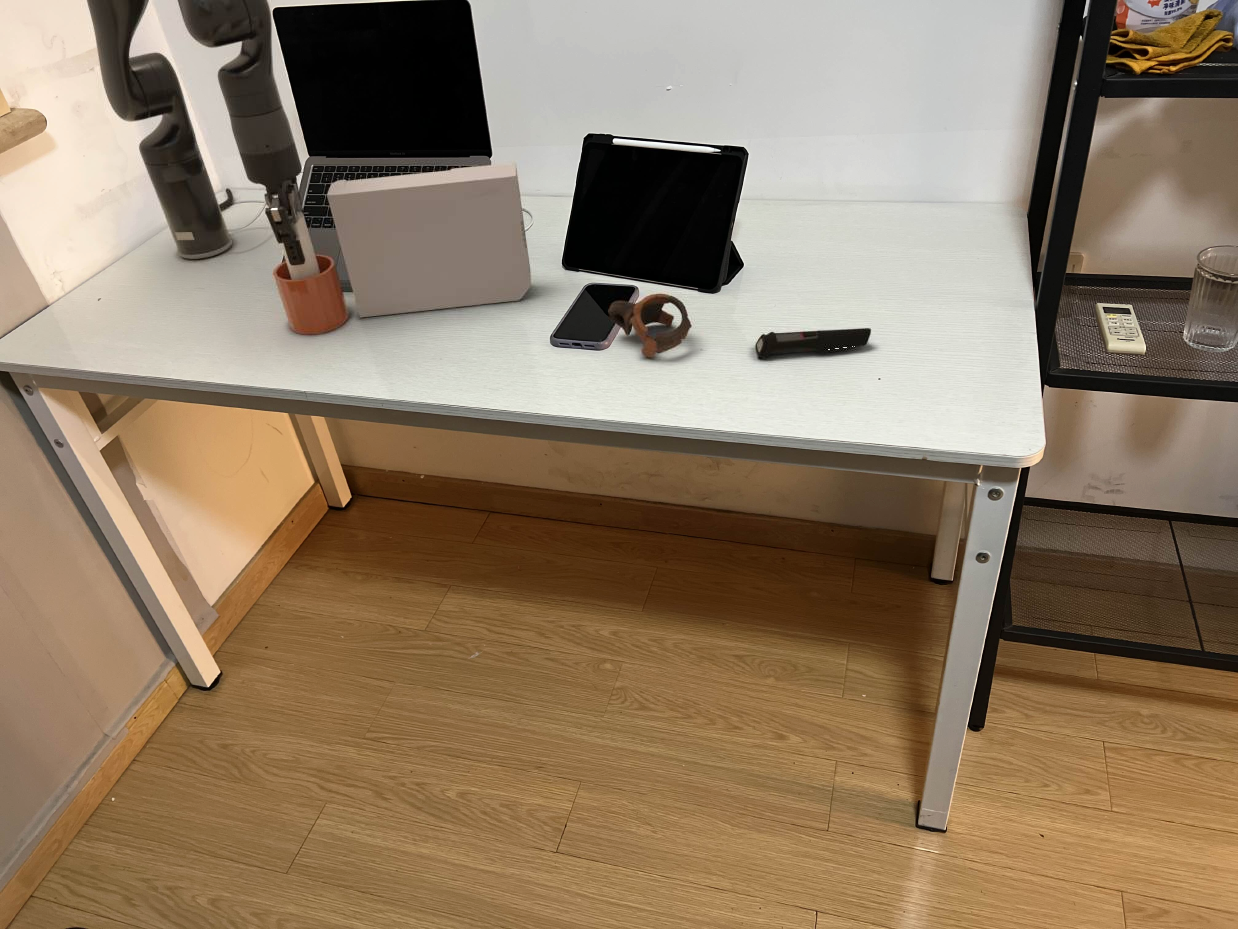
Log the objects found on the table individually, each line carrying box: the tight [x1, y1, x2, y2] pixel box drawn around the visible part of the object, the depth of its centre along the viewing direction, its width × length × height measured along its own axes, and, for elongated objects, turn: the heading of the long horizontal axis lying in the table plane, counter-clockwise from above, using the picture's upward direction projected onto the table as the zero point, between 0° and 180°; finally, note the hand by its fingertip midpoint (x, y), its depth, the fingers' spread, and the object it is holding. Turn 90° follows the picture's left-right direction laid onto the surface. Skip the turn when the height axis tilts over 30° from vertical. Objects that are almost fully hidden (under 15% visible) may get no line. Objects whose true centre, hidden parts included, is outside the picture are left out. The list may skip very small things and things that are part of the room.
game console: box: [326, 161, 532, 318], centre depth 141 cm, size 6×27×20 cm, turn 96°
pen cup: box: [272, 253, 350, 336], centre depth 141 cm, size 9×9×9 cm
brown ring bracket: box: [607, 293, 693, 359], centre depth 131 cm, size 12×10×8 cm
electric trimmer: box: [754, 327, 872, 360], centre depth 127 cm, size 4×16×3 cm, turn 91°
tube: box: [279, 211, 320, 280], centre depth 138 cm, size 4×4×15 cm
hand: (300, 256), depth 138 cm, fingers closed on tube, 4 cm apart
